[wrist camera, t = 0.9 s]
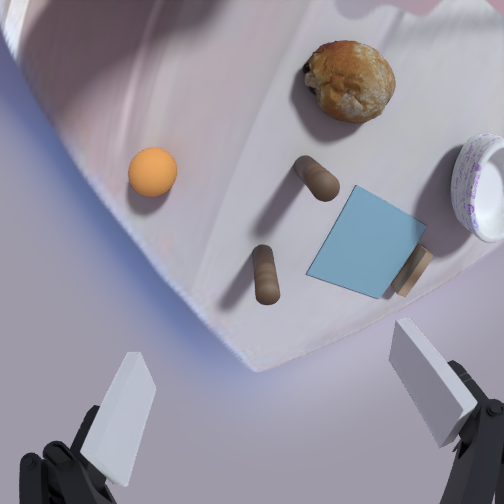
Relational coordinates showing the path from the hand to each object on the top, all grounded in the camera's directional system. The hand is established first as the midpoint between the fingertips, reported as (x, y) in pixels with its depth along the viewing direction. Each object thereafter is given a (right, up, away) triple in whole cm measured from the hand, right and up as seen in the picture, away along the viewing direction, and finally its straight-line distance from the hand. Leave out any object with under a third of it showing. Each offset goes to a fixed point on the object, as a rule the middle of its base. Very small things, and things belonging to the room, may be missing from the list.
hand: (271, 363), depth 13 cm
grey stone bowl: (+33, +17, +19) cm, 42 cm away
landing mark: (+16, +6, +24) cm, 30 cm away
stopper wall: (+24, +3, +26) cm, 35 cm away
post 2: (+5, +15, +19) cm, 25 cm away
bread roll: (+10, +25, +14) cm, 30 cm away
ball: (-12, +14, +16) cm, 24 cm away
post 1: (0, +5, +24) cm, 25 cm away
